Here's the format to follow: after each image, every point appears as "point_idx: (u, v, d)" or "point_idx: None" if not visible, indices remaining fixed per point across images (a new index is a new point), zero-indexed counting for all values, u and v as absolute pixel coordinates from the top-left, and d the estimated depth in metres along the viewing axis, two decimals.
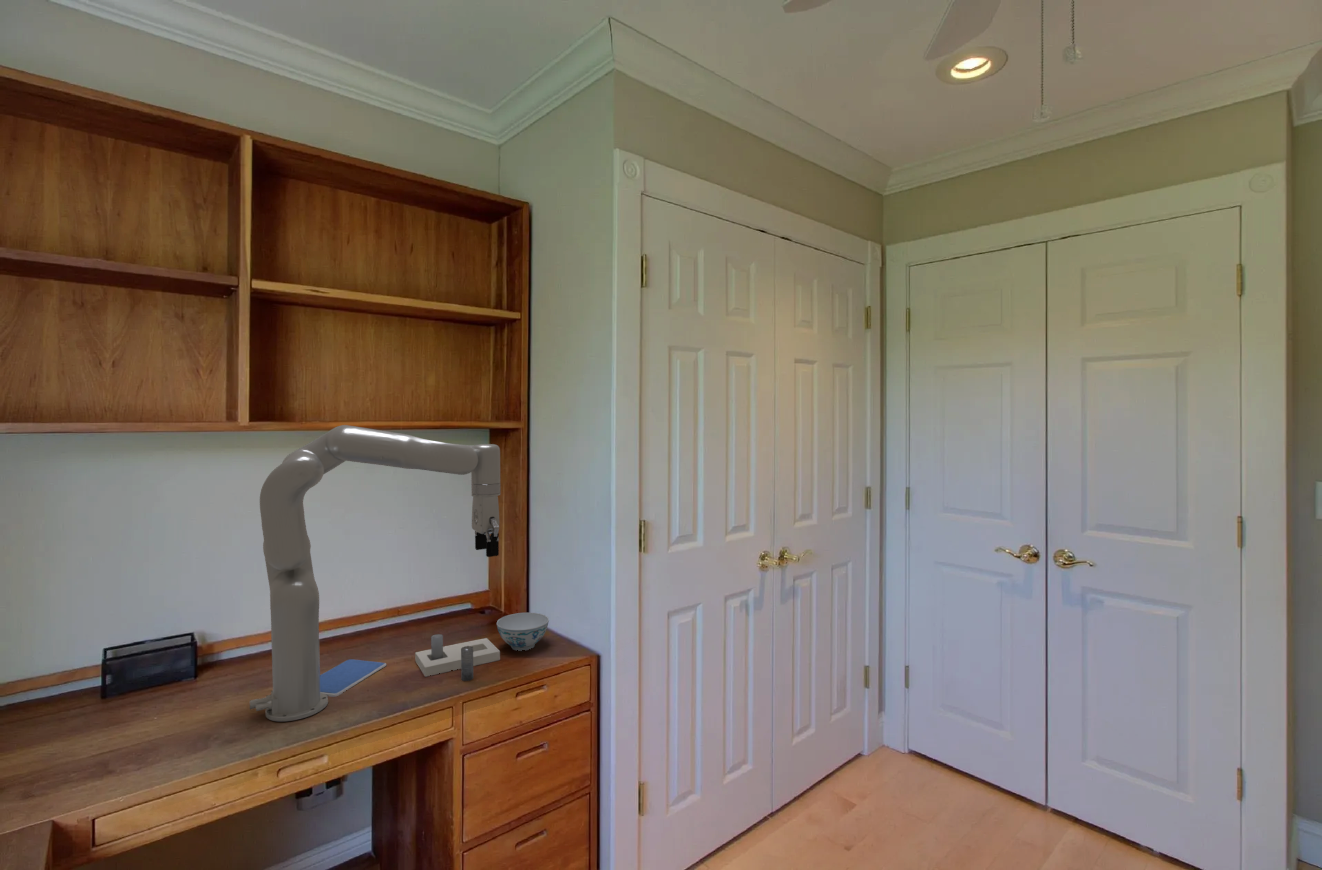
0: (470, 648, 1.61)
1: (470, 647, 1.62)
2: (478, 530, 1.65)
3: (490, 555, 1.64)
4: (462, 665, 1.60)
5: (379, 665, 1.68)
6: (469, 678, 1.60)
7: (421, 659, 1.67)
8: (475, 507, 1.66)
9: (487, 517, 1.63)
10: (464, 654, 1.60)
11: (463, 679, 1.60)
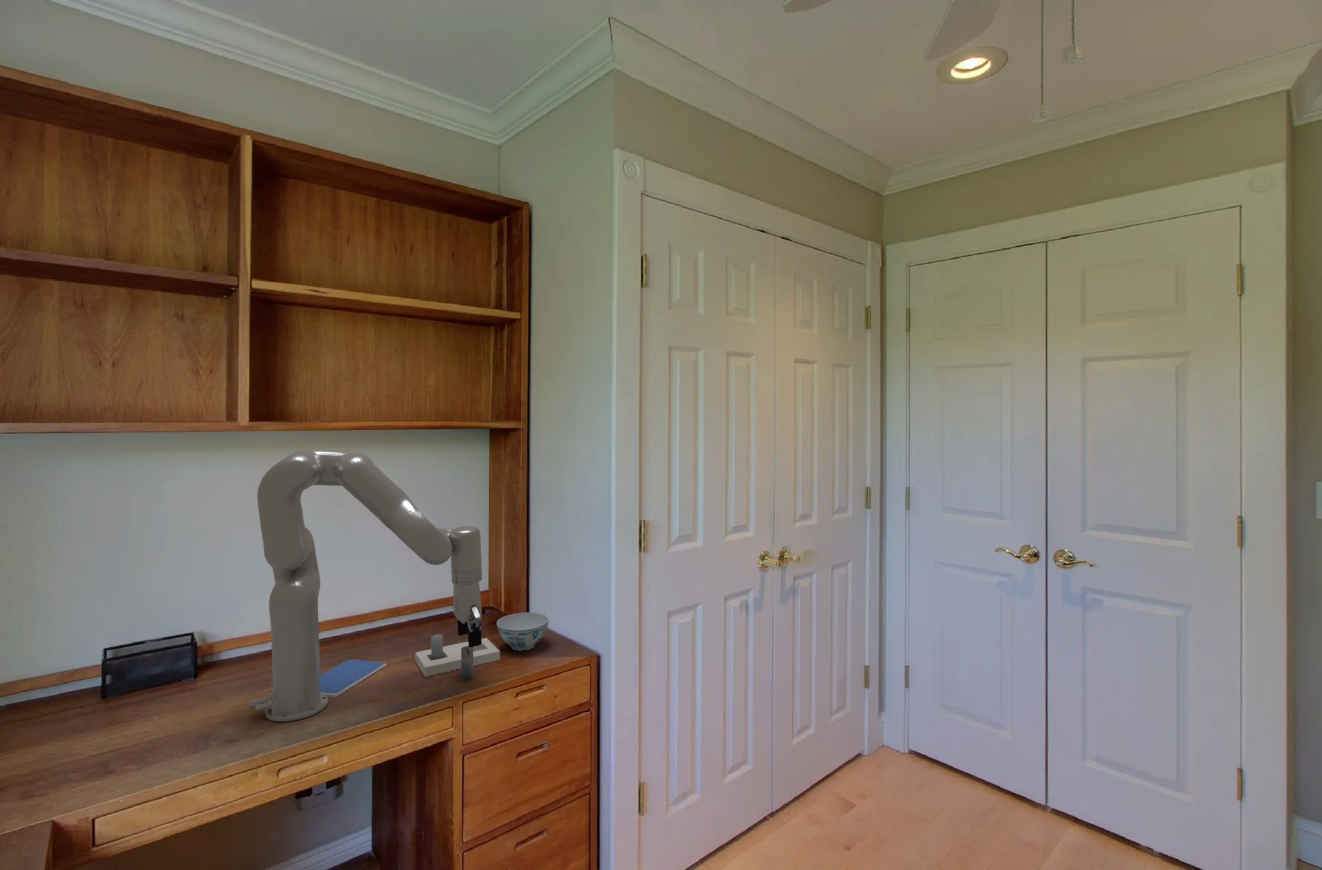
0: (470, 648, 1.61)
1: (470, 647, 1.62)
2: (459, 619, 1.58)
3: (472, 645, 1.57)
4: (462, 665, 1.60)
5: (379, 665, 1.68)
6: (469, 678, 1.60)
7: (421, 659, 1.67)
8: (456, 594, 1.59)
9: (468, 606, 1.56)
10: (464, 654, 1.60)
11: (463, 679, 1.60)
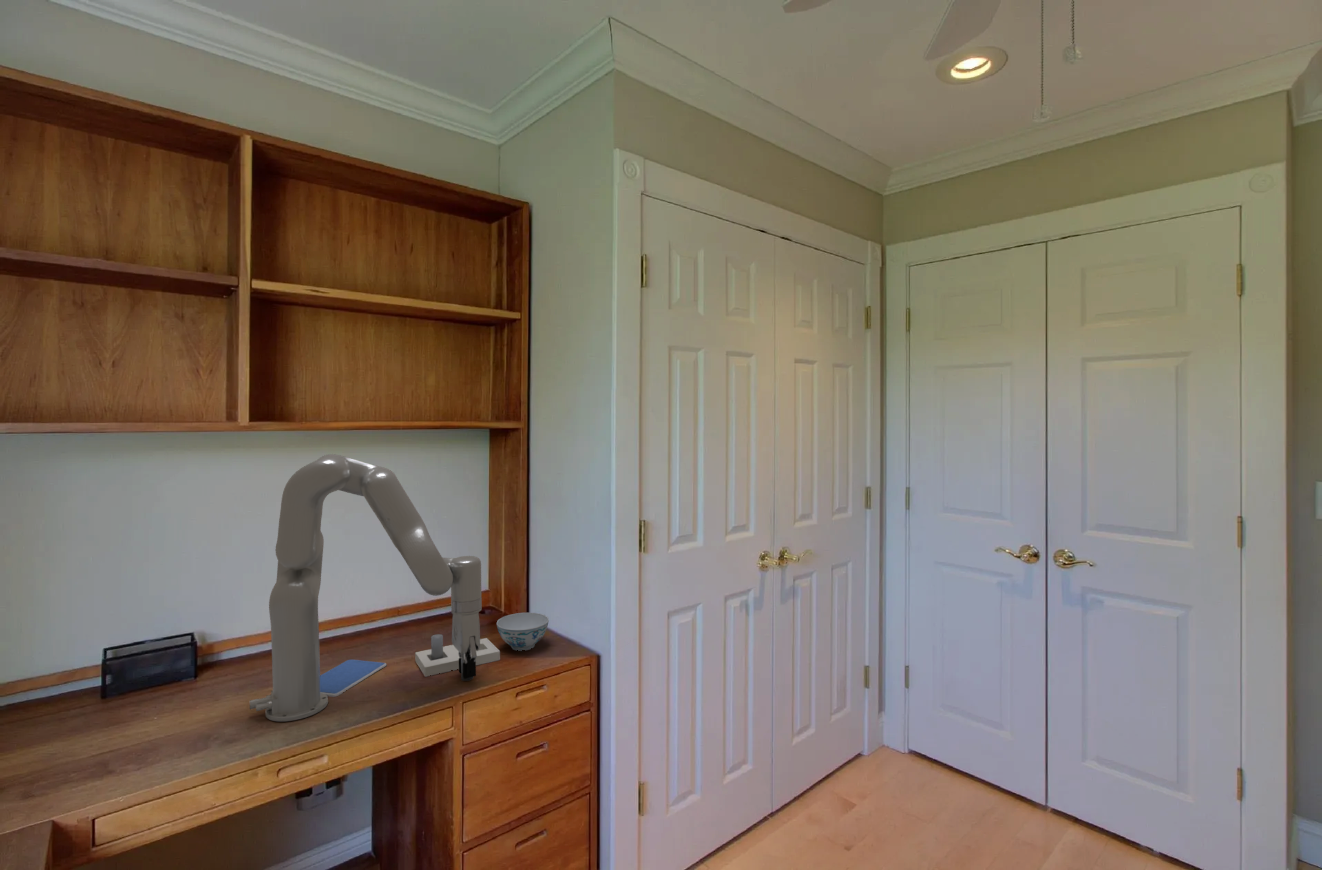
0: None
1: None
2: (458, 649, 1.58)
3: (467, 676, 1.59)
4: (462, 665, 1.60)
5: (379, 665, 1.68)
6: (469, 678, 1.60)
7: (421, 659, 1.67)
8: (455, 624, 1.60)
9: (467, 637, 1.56)
10: None
11: (463, 679, 1.60)
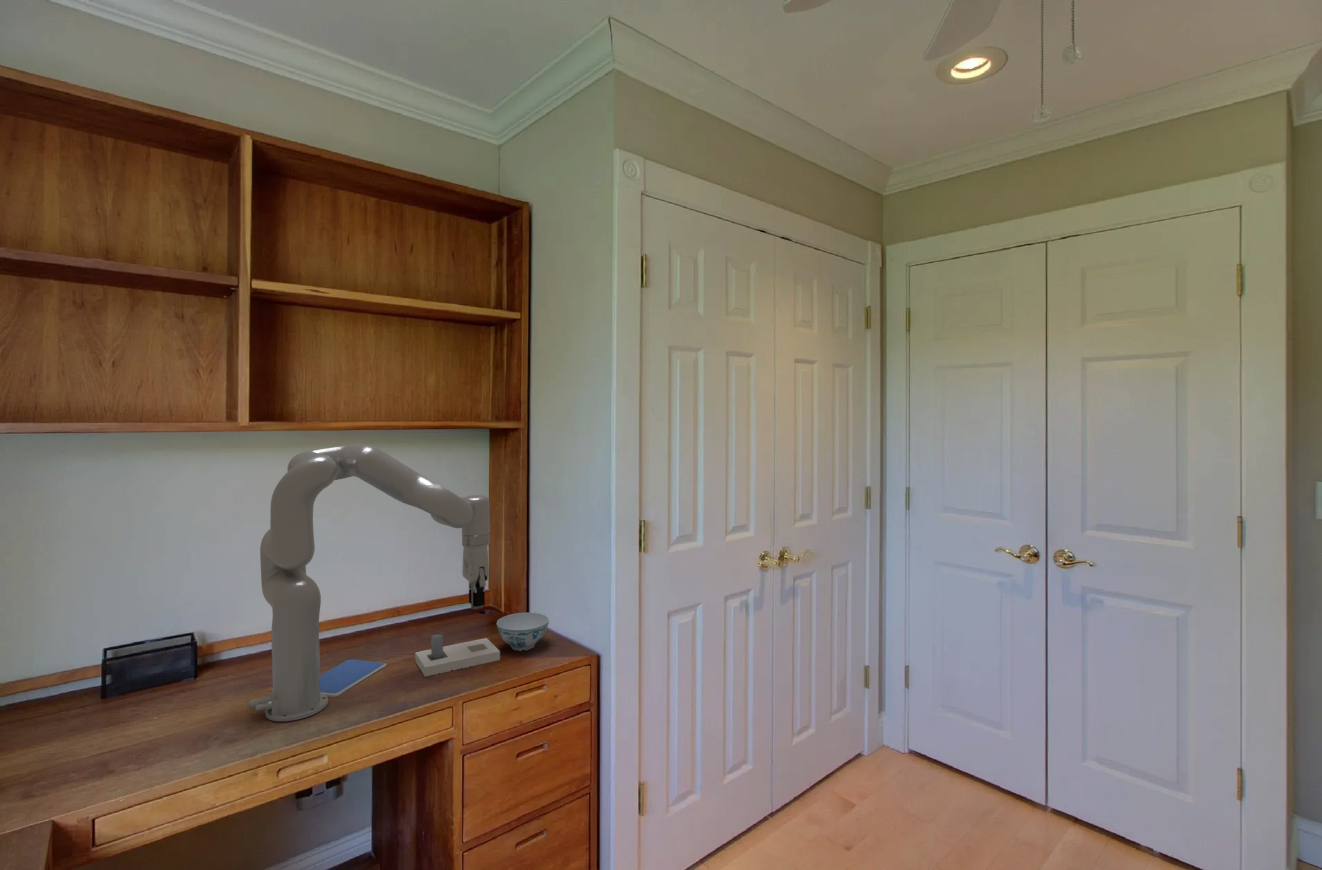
0: None
1: None
2: (468, 579, 1.72)
3: (476, 605, 1.73)
4: (472, 595, 1.74)
5: (379, 665, 1.68)
6: (479, 607, 1.74)
7: (421, 659, 1.67)
8: (465, 556, 1.73)
9: (477, 567, 1.70)
10: None
11: (473, 608, 1.74)
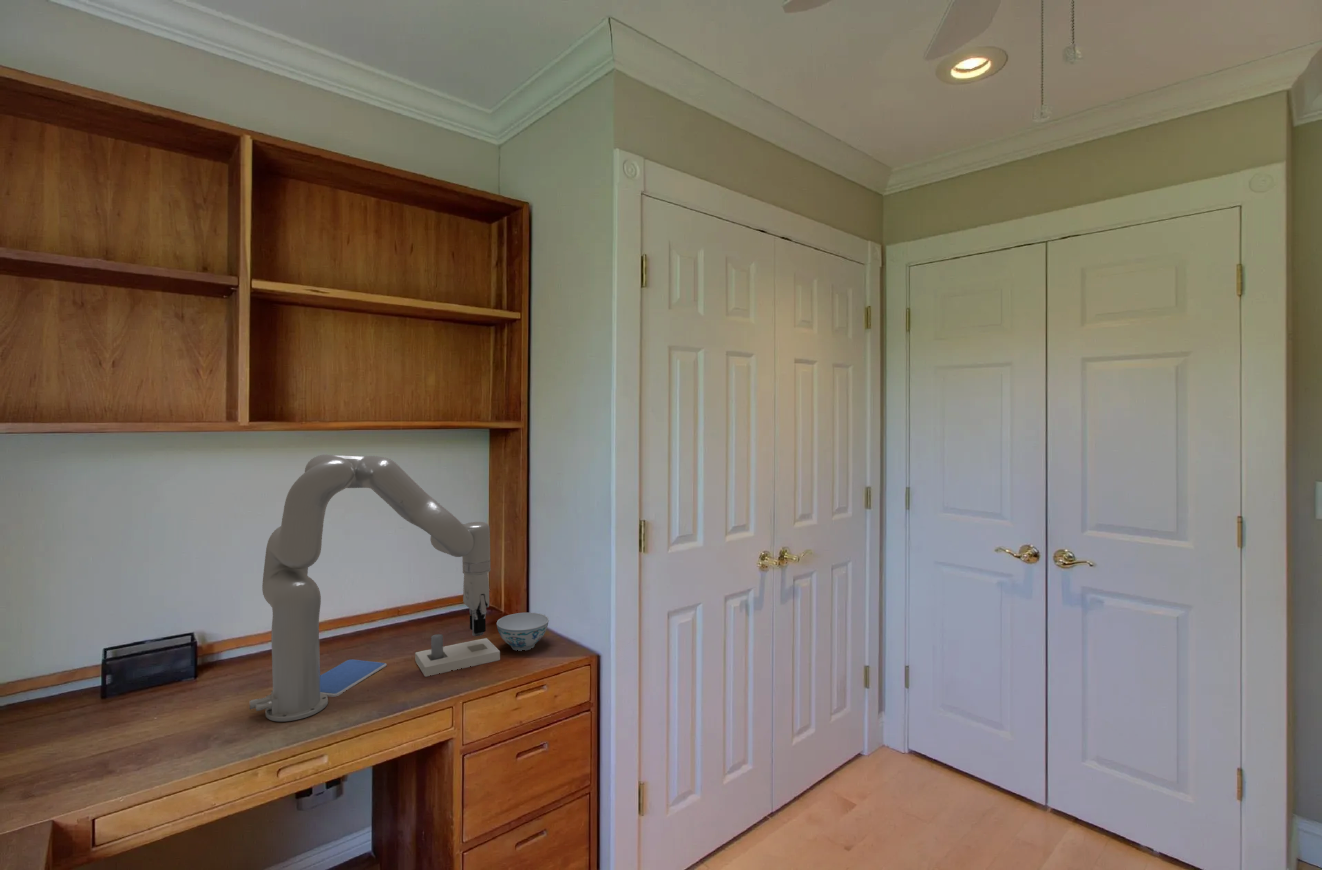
0: None
1: None
2: (469, 606, 1.72)
3: (477, 632, 1.74)
4: (473, 621, 1.74)
5: (379, 665, 1.68)
6: (479, 633, 1.75)
7: (421, 659, 1.67)
8: (466, 583, 1.74)
9: (477, 595, 1.70)
10: None
11: (474, 634, 1.74)
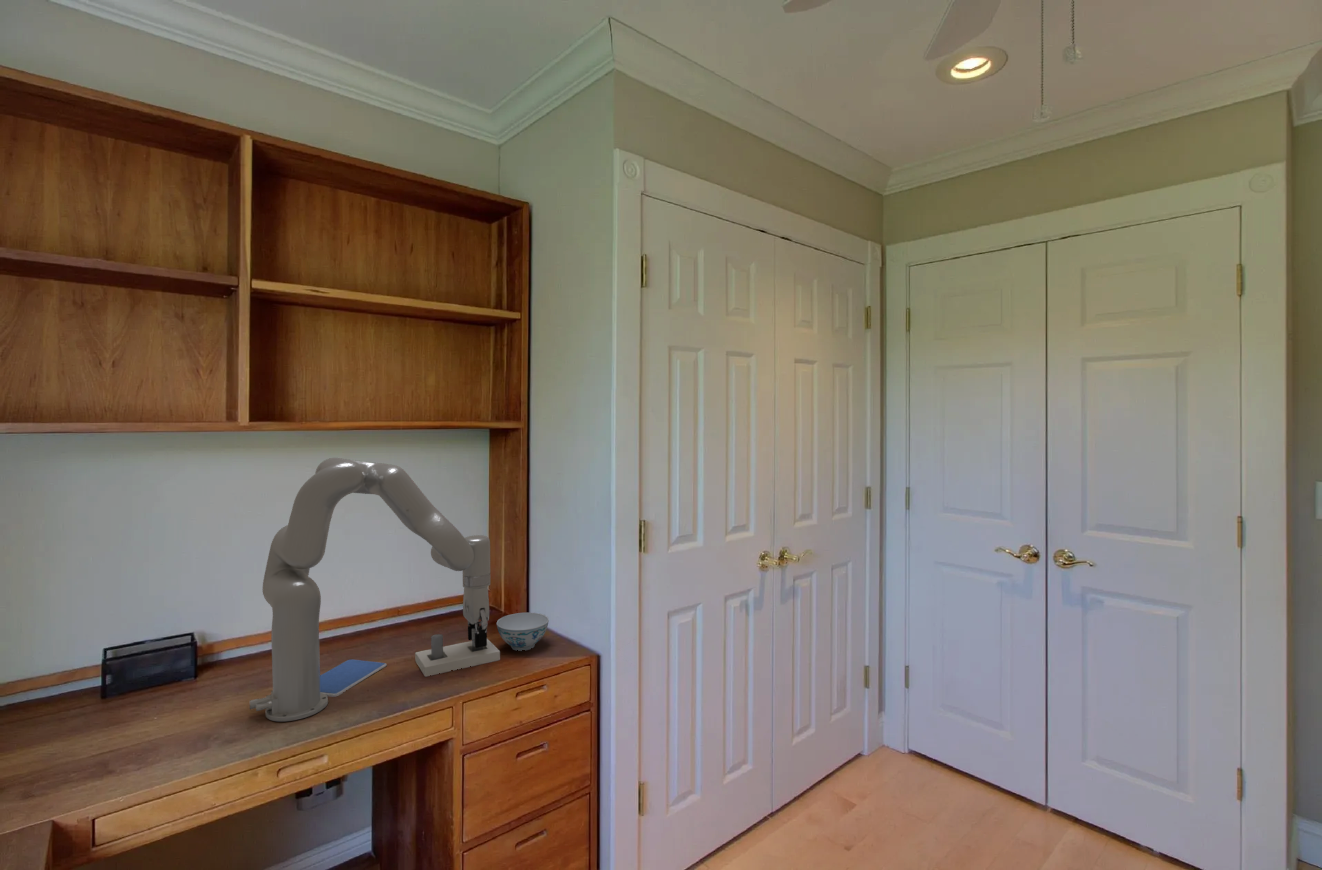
0: None
1: None
2: (469, 620, 1.72)
3: (479, 646, 1.72)
4: (473, 644, 1.75)
5: (379, 665, 1.68)
6: None
7: (421, 659, 1.67)
8: (466, 597, 1.74)
9: (477, 608, 1.70)
10: None
11: None
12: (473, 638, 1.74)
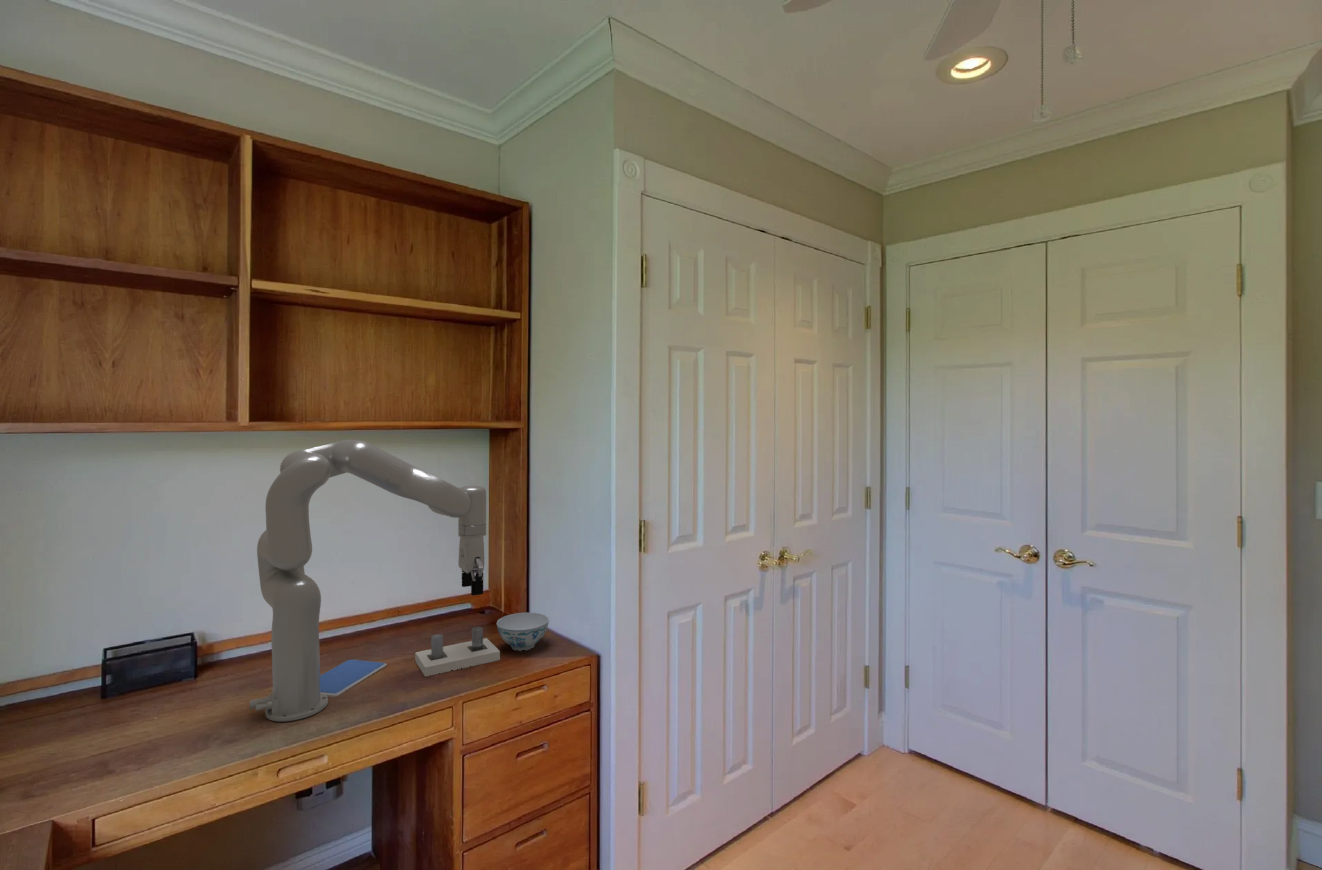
0: (480, 628, 1.75)
1: (480, 628, 1.76)
2: (464, 569, 1.72)
3: (475, 594, 1.70)
4: (473, 644, 1.75)
5: (379, 665, 1.68)
6: None
7: (421, 659, 1.67)
8: (461, 547, 1.73)
9: (472, 557, 1.70)
10: (474, 634, 1.74)
11: None
12: (473, 638, 1.74)
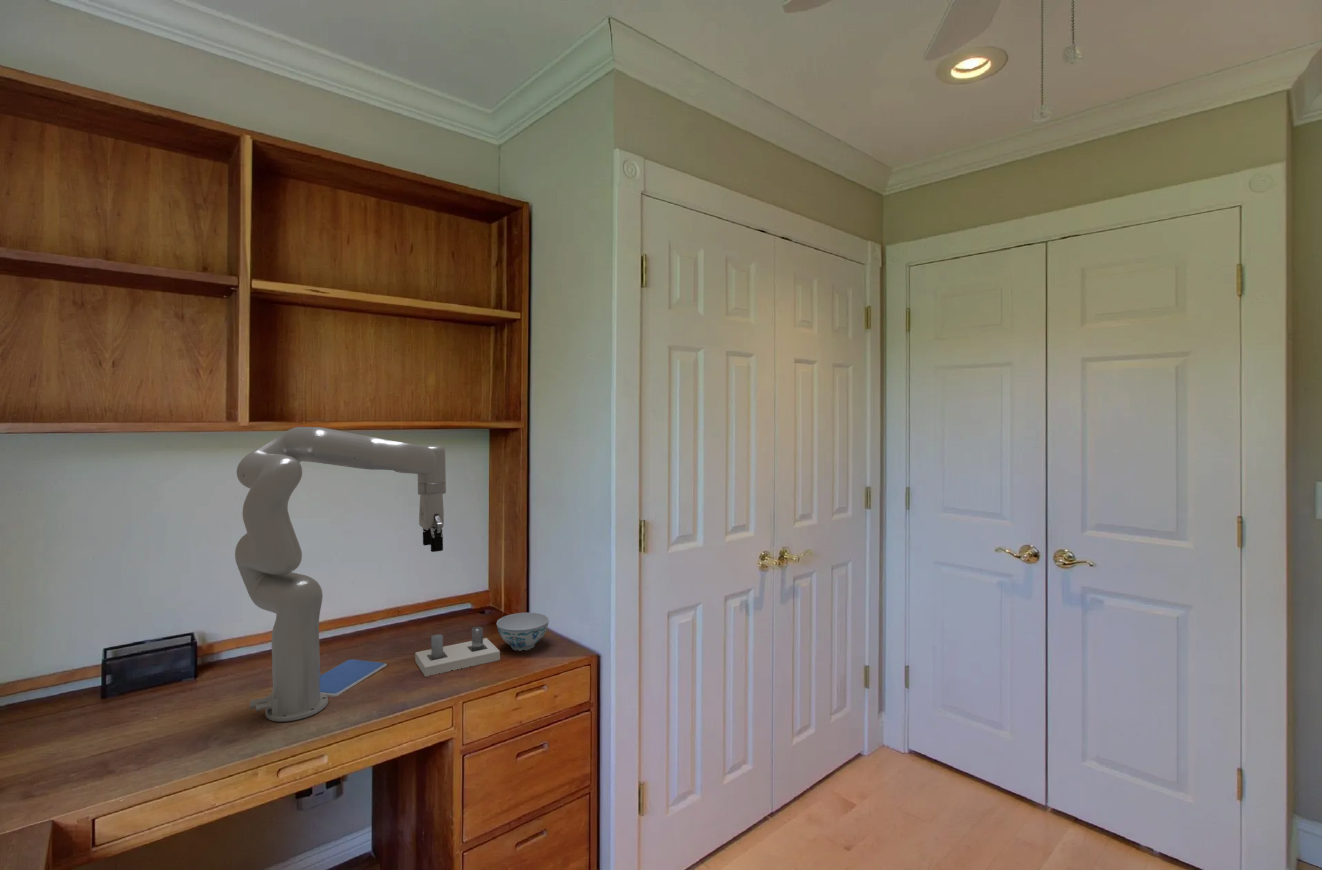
0: (480, 628, 1.75)
1: (480, 627, 1.76)
2: (423, 526, 1.74)
3: (434, 550, 1.73)
4: (473, 644, 1.75)
5: (379, 665, 1.68)
6: None
7: (421, 659, 1.67)
8: (421, 505, 1.76)
9: (431, 514, 1.73)
10: (475, 634, 1.74)
11: None
12: (473, 638, 1.74)
